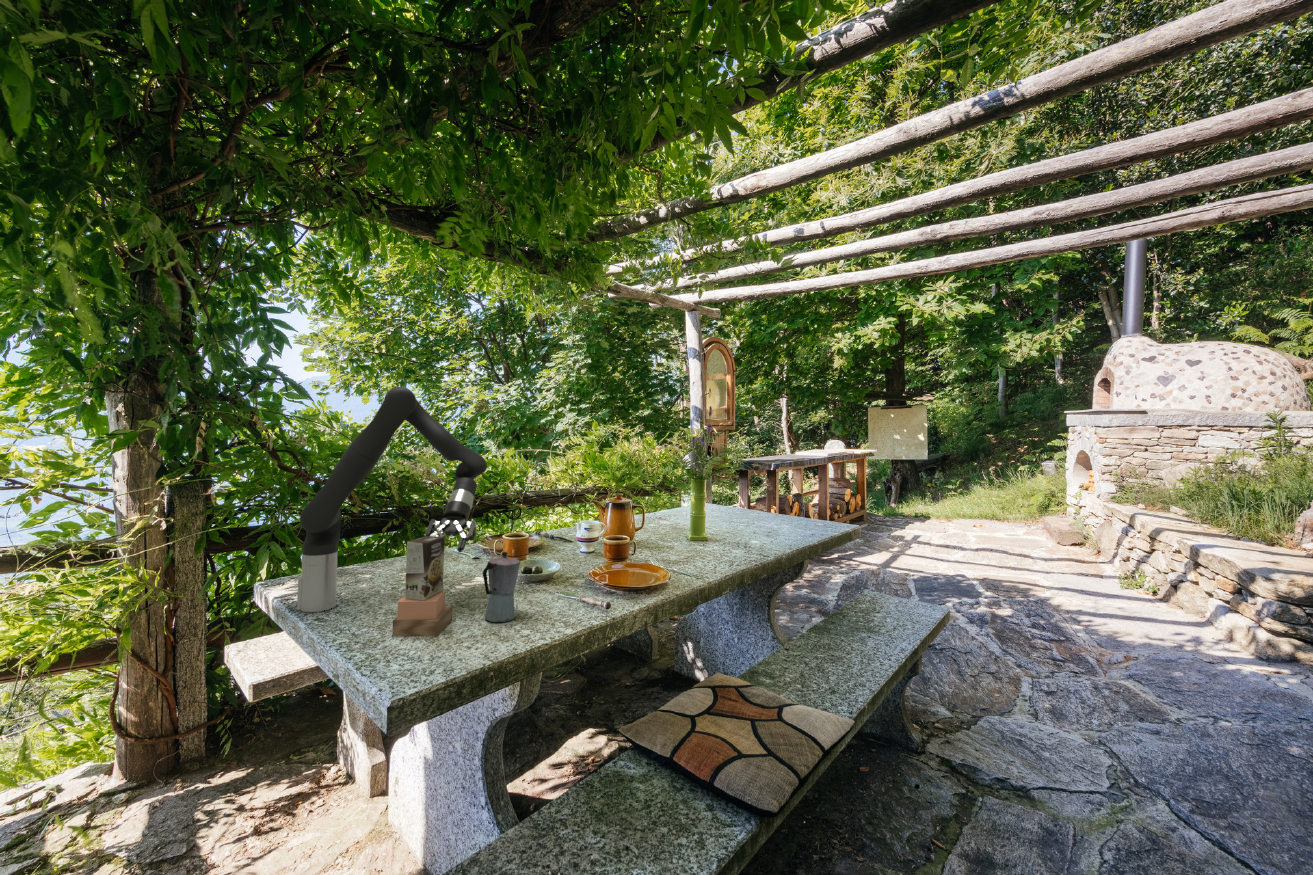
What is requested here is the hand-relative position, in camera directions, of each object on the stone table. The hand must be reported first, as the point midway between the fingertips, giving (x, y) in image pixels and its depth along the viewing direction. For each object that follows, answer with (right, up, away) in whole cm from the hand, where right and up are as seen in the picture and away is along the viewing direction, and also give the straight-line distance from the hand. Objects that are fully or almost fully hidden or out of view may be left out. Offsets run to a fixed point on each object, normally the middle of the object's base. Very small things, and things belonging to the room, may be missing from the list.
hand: (445, 550), depth 156 cm
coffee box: (-3, -11, -8) cm, 14 cm away
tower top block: (-3, -16, -9) cm, 18 cm away
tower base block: (-3, -21, -8) cm, 23 cm away
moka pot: (+16, -21, +1) cm, 27 cm away
